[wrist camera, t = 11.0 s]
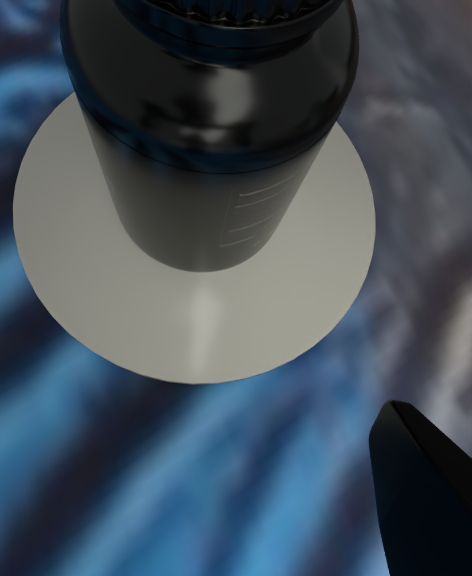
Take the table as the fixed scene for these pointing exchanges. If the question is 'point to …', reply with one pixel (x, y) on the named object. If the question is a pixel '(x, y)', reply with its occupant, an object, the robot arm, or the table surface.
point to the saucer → (182, 284)
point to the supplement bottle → (207, 113)
